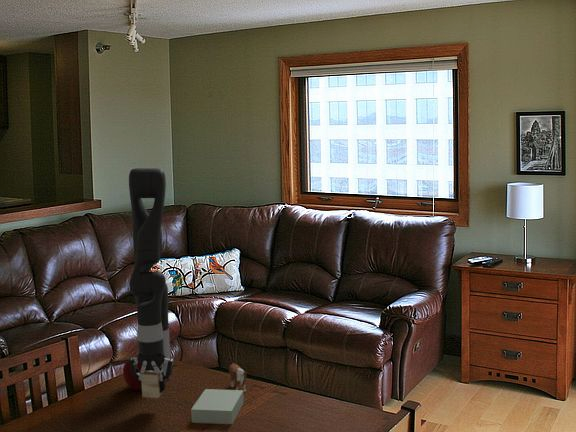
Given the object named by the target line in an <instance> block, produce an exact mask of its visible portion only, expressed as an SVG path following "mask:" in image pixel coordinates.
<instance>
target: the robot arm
mask: <svg viewBox="0 0 576 432" xmlns="http://www.w3.org/2000/svg"><path fill="white" fill-rule="evenodd" d="M166 185H167V182H166V174H165V171H164V169H162V168H159V167H158V168H156V167H155V168H154V167H153V168H149V167H148V168H146V167H144V168H143V167H141V168H139V167H137V168H132V169H131V170H130V172H129V174H128V190H129V199H130V206H131V215H132V245H133V246H132V247H133V257H134V266H133V270H132V273H131V276H130V279H129V282H128V287H129V291H130V292H131V295H133V296H134V298H135V300H134V301H135V305H136V316H137V317H136V318H137V319H136V320H137V326H136V328H137V330H136V338H137V357H134V356H132V357H130V358H129V359H130V360H129V359H128V360H129V365H130V368H131V372H132V375H133V378H137V379H139V381H140V390H139V391H142V381H141V375H142V374H144V373H145V372H146V371H149V370H152V371H155V372H156V374H159V380H160V381H159V388H160V393H162V392H163V391H165V390H166V387H167V386H166V381H168V380H170V379H171V378H172V372H173V369H174V364H175V359H174V358H173V357H172V358H171V346H170V344H171V342H170V328H169V327H170V324H169V322H170V321H169V288H168V285H167V283H166V282H167V281H166V280H167V279H166V277H165V275H164V273H162V271H151V269H153V267H154V266H155V265H157V264H158V263H159V262H160V260H161V255H162V253H163V234H162V224H163V215H164V210H165V209H164V208H165V200H166V187H167V186H166ZM142 199H154V201H153V205H152V209H151V210H150V211H149V212H150V213H149V212H148V211H147V209H146V208H145V205H144V202H143V200H142ZM138 362H139V363H140V365H141V366H142V368H141V371H140V373H139V370H138V367H137V363H138ZM163 393H164V392H163ZM163 393H162V394H163Z"/></svg>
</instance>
